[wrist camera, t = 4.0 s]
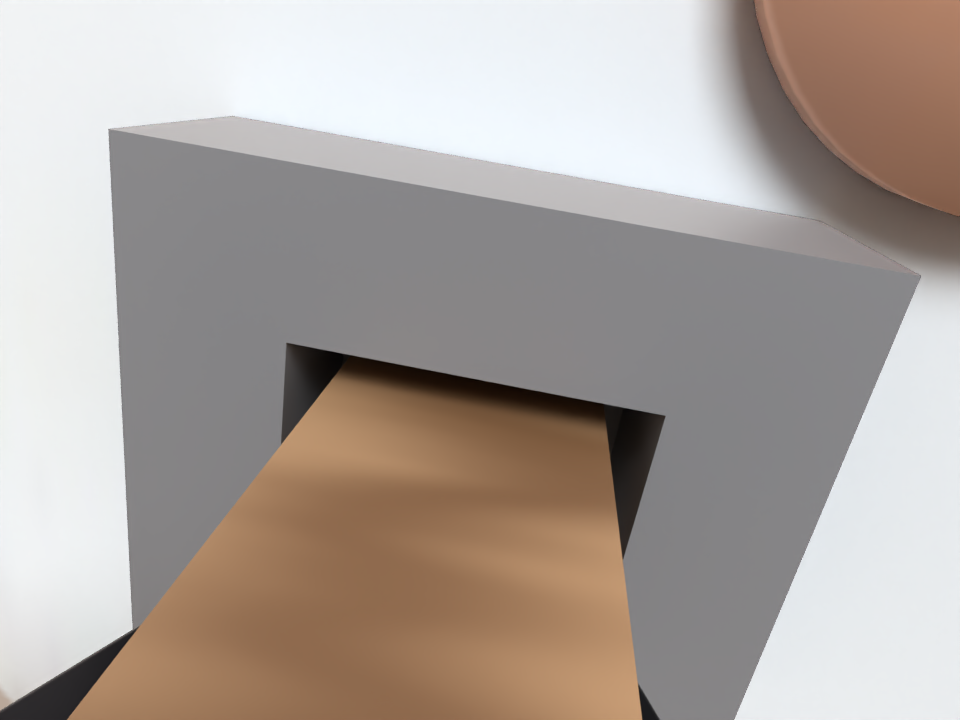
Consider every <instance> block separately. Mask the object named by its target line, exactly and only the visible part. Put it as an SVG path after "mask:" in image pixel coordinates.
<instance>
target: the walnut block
mask: <svg viewBox="0 0 960 720" xmlns="http://www.w3.org/2000/svg"><path fill="white" fill-rule="evenodd" d="M67 720H642V714H641V706H640V698H639V690H638V681H637V673H636V665H635V657H634V649H633V641H632V632H631V624H630V616H629V608H628V600H627V592H626V584H625V575H624V567H623V559H622V551H621V543H620V535H619V526H618V518H617V510H616V502H615V494H614V486H613V478H612V469H611V461H610V453H609V445H608V437H607V429H606V420H605V412H604V404H602V403H597V402H592V401H587V400H581V399H576V398H571V397H566V396H561V395H555V394H550V393H545V392H540V391H535V390H529V389H524V388H519V387H514V386H509V385H503V384H498V383H493V382H488V381H483V380H478V379H472V378H467V377H462V376H457V375H452V374H446V373H441V372H436V371H431V370H426V369H420V368H415V367H410V366H405V365H400V364H395V363H389V362H384V361H379V360H374V359H369V358H363V357H358V356H353V355H351V356H350V357H349V358H348V360H347V361H346V362H345V363H344V365H343V366H342V367H341V369H340V370H339V371H338V372H337V374H336V375H335V376H334V378H333V379H332V380H331V381H330V383H329V384H328V385H327V387H326V388H325V389H324V390H323V392H322V393H321V394H320V396H319V397H318V398H317V399H316V401H315V402H314V403H313V405H312V406H311V407H310V408H309V410H308V411H307V412H306V414H305V415H304V416H303V417H302V419H301V420H300V421H299V423H298V424H297V425H296V426H295V428H294V429H293V430H292V432H291V433H290V434H289V435H288V437H287V438H286V439H285V440H284V442H283V443H282V444H281V446H280V447H279V448H278V449H277V451H276V452H275V453H274V455H273V456H272V457H271V458H270V460H269V461H268V462H267V464H266V465H265V466H264V467H263V469H262V470H261V471H260V473H259V474H258V475H257V476H256V478H255V479H254V480H253V482H252V483H251V484H250V485H249V487H248V488H247V489H246V491H245V492H244V493H243V494H242V496H241V497H240V498H239V500H238V501H237V502H236V503H235V505H234V506H233V507H232V509H231V510H230V511H229V512H228V514H227V515H226V516H225V518H224V519H223V520H222V521H221V523H220V524H219V525H218V526H217V528H216V529H215V530H214V532H213V533H212V534H211V535H210V537H209V538H208V539H207V541H206V542H205V543H204V544H203V546H202V547H201V548H200V550H199V551H198V552H197V553H196V555H195V556H194V557H193V559H192V560H191V561H190V562H189V564H188V565H187V566H186V568H185V569H184V570H183V571H182V573H181V574H180V575H179V577H178V578H177V579H176V580H175V582H174V583H173V584H172V586H171V587H170V588H169V589H168V591H167V592H166V593H165V595H164V596H163V597H162V598H161V600H160V601H159V602H158V604H157V605H156V606H155V607H154V609H153V610H152V611H151V613H150V614H149V615H148V616H147V618H146V619H145V620H144V621H143V623H142V624H141V625H140V627H139V628H138V629H137V630H136V632H135V633H134V634H133V636H132V637H131V638H130V639H129V641H128V642H127V643H126V645H125V646H124V647H123V648H122V650H121V651H120V652H119V654H118V655H117V656H116V657H115V659H114V660H113V661H112V663H111V664H110V665H109V666H108V668H107V669H106V670H105V672H104V673H103V674H102V675H101V677H100V678H99V679H98V681H97V682H96V683H95V684H94V686H93V687H92V688H91V690H90V691H89V692H88V693H87V695H86V696H85V697H84V699H83V700H82V701H81V702H80V704H79V705H78V706H77V708H76V709H75V710H74V711H73V713H72V714H71V715H70V716H69V718H68V719H67Z"/></svg>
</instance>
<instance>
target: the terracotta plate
mask: <svg viewBox="0 0 960 720" xmlns="http://www.w3.org/2000/svg"><path fill="white" fill-rule="evenodd" d="M754 4H755V10H756V17H757V21H758V24H759V27H760V31H761V34H762V38H763V41H764V44H765V48H766V51H767V55H768V57H769V60H770V62H771V64H772V66H773V68H774V71H775V73H776V75H777V77H778V79H779V82H780V84H781V86H782V88H783V90H784V92H785V94H786V95H787V97H788V98H789V100H790V102H791V103H792V105H793V106H794V108H795V109H796V111H797V112H798V114H799V115H800V117H801V118H802V120H803V122H804V123H805V124H806V125H807V126H808V127H809V129H810V130H811V131H812V132H813V133H814V134H815V135H816V136H817V137H818V139H819V140H820V141H821V142H822V143H823V144H824V145H825V146H826V148H827V149H828V150H830V151H831V152H832V153H833V154H834V155H836V156H837V157H838V158H839V159H840V160H842V161H843V162H844V163H845V164H847V165H848V166H849V167H850V168H851V169H853V170H854V171H855V172H857V173H858V174H860V175H862V176H863V177H865V178H867V179H868V180H870V181H872V182H874V183H875V184H877V185H879V186H880V187H882V188H884V189H885V190H888V191H890V192H892V193H895V194H897V195H900V196H902V197H905V198H907V199H910V200H912V201H915V202H917V203H920V204H923V205H925V206H928V207H931V208H934V209H937V210H940V211H943V212H946V213H949V214H952V215H956V216H960V0H754Z"/></svg>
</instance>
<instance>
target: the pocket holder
mask: <svg viewBox="0 0 960 720" xmlns="http://www.w3.org/2000/svg"><path fill="white" fill-rule="evenodd" d="M109 150H110V170H111V191H112V212H113V232H114V253H115V273H116V294H117V314H118V335H119V356H120V376H121V397H122V417H123V438H124V458H125V479H126V500H127V520H128V541H129V561H130V582H131V603H132V623H133V629H134V628H136V627H138V626H139V625H141V624H142V623H143V621H144V620H145V619H146V618H147V616H148V615H149V614H150V613H151V611H152V610H153V609H154V607H155V606H156V605H157V604H158V602H159V601H160V600H161V598H162V597H163V596H164V595H165V593H166V592H167V591H168V589H169V588H170V587H171V586H172V584H173V583H174V582H175V580H176V579H177V578H178V577H179V575H180V574H181V573H182V571H183V570H184V569H185V568H186V566H187V565H188V564H189V562H190V561H191V560H192V559H193V557H194V556H195V555H196V553H197V552H198V551H199V550H200V548H201V547H202V546H203V544H204V543H205V542H206V541H207V539H208V538H209V537H210V535H211V534H212V533H213V532H214V530H215V529H216V528H217V526H218V525H219V524H220V523H221V521H222V520H223V519H224V518H225V516H226V515H227V514H228V512H229V511H230V510H231V509H232V507H233V506H234V505H235V503H236V502H237V501H238V500H239V498H240V497H241V496H242V494H243V493H244V492H245V491H246V489H247V488H248V487H249V485H250V484H251V483H252V482H253V480H254V479H255V478H256V476H257V475H258V474H259V473H260V471H261V470H262V469H263V467H264V466H265V465H266V464H267V462H268V461H269V460H270V458H271V457H272V456H273V455H274V453H275V452H276V451H277V449H278V448H279V447H280V446H281V444H282V443H283V442H284V440H285V439H286V438H287V437H288V435H289V434H290V433H291V432H292V430H293V429H294V428H295V426H296V425H297V424H298V423H299V421H300V420H301V419H302V417H303V416H304V415H305V414H306V412H307V411H308V410H309V408H310V407H311V406H312V405H313V403H314V402H315V401H316V399H317V398H318V397H319V396H320V394H321V393H322V392H323V390H324V389H325V388H326V387H327V385H328V384H329V383H330V381H331V380H332V379H333V378H334V376H335V375H336V374H337V372H338V371H339V370H340V369H341V367H342V366H343V365H344V363H345V362H346V361H347V360H348V358H349V357H350V356H351V355H353V356H358V357H363V358H369V359H374V360H379V361H384V362H389V363H395V364H400V365H405V366H410V367H415V368H420V369H426V370H431V371H436V372H441V373H446V374H452V375H457V376H462V377H467V378H472V379H478V380H483V381H488V382H493V383H498V384H503V385H509V386H514V387H519V388H524V389H529V390H535V391H540V392H545V393H550V394H555V395H561V396H566V397H571V398H576V399H581V400H587V401H592V402H597V403H602V404H604V412H605V420H606V429H607V437H608V445H609V453H610V461H611V469H612V478H613V486H614V494H615V502H616V510H617V518H618V526H619V535H620V543H621V551H622V559H623V567H624V575H625V584H626V592H627V600H628V608H629V616H630V624H631V632H632V641H633V649H634V657H635V665H636V673H637V681H638V684H639V685H640V687H641V689H642V690H643V692H644V694H645V695H646V697H647V699H648V700H649V702H650V704H651V705H652V707H653V709H654V710H655V712H656V714H657V715H658V717H659V719H660V720H734V719H735V716H736V714H737V711H738V709H739V707H740V704H741V702H742V700H743V697H744V695H745V693H746V690H747V688H748V685H749V683H750V681H751V678H752V676H753V674H754V671H755V669H756V666H757V664H758V662H759V659H760V657H761V655H762V652H763V650H764V647H765V645H766V643H767V640H768V638H769V636H770V633H771V631H772V628H773V626H774V624H775V621H776V619H777V617H778V614H779V612H780V610H781V607H782V605H783V602H784V600H785V598H786V595H787V593H788V591H789V588H790V586H791V583H792V581H793V579H794V576H795V574H796V572H797V569H798V567H799V564H800V562H801V560H802V557H803V555H804V553H805V550H806V548H807V545H808V543H809V541H810V538H811V536H812V534H813V531H814V529H815V527H816V524H817V522H818V519H819V517H820V515H821V512H822V510H823V508H824V505H825V503H826V500H827V498H828V496H829V493H830V491H831V489H832V486H833V484H834V481H835V479H836V477H837V474H838V472H839V470H840V467H841V465H842V462H843V460H844V458H845V455H846V453H847V451H848V448H849V446H850V444H851V441H852V439H853V436H854V434H855V432H856V429H857V427H858V425H859V422H860V420H861V417H862V415H863V413H864V410H865V408H866V406H867V403H868V401H869V398H870V396H871V394H872V391H873V389H874V387H875V384H876V382H877V379H878V377H879V375H880V372H881V370H882V368H883V365H884V363H885V361H886V358H887V356H888V353H889V351H890V349H891V346H892V344H893V342H894V339H895V337H896V334H897V332H898V330H899V327H900V325H901V323H902V320H903V318H904V315H905V313H906V311H907V308H908V306H909V304H910V301H911V299H912V296H913V294H914V292H915V289H916V287H917V285H918V282H919V280H920V278H921V276H920V275H919V274H917V273H915V272H913V271H911V270H909V269H907V268H906V267H904V266H902V265H900V264H898V263H896V262H895V261H893V260H891V259H889V258H887V257H885V256H884V255H882V254H880V253H878V252H876V251H874V250H873V249H871V248H869V247H867V246H865V245H863V244H862V243H860V242H858V241H856V240H854V239H852V238H850V237H849V236H847V235H845V234H843V233H841V232H839V231H838V230H836V229H834V228H832V227H830V226H828V225H827V224H825V223H823V222H821V221H818V220H812V219H807V218H801V217H796V216H790V215H784V214H779V213H773V212H768V211H762V210H756V209H751V208H745V207H740V206H734V205H728V204H723V203H717V202H712V201H706V200H700V199H695V198H689V197H684V196H678V195H672V194H667V193H661V192H656V191H650V190H644V189H639V188H633V187H628V186H622V185H616V184H611V183H605V182H600V181H594V180H588V179H583V178H577V177H572V176H566V175H560V174H555V173H549V172H544V171H538V170H532V169H527V168H521V167H516V166H510V165H504V164H499V163H493V162H488V161H482V160H476V159H471V158H465V157H460V156H454V155H448V154H443V153H437V152H432V151H426V150H420V149H415V148H409V147H404V146H398V145H392V144H387V143H381V142H376V141H370V140H364V139H359V138H353V137H348V136H342V135H336V134H331V133H325V132H320V131H314V130H308V129H303V128H297V127H292V126H286V125H280V124H275V123H269V122H264V121H258V120H252V119H247V118H241V117H236V116H228V117H219V118H209V119H199V120H190V121H180V122H171V123H161V124H151V125H142V126H132V127H122V128H113V129H109Z"/></svg>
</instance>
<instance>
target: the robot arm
mask: <svg viewBox="0 0 960 720" xmlns="http://www.w3.org/2000/svg"><path fill="white" fill-rule="evenodd" d="M139 627H140V625H139V626H138V627H136V628H134V629H133V630H131V631H130V632H128V633H126V634H125V635H123V636H121V637H120V638H118V639H117V640H115V641H113V642H112V643H110V644H108V645H107V646H105V647H103V648H102V649H100V650H99V651H97V652H95V653H94V654H92V655H90V656H89V657H87V658H85V659H84V660H82V661H81V662H79V663H77V664H76V665H74V666H72V667H71V668H69V669H67V670H66V671H64V672H63V673H61V674H59V675H58V676H56V677H54V678H53V679H51V680H49V681H48V682H46V683H45V684H43V685H41V686H40V687H38V688H36V689H35V690H33V691H32V692H30V693H28V694H27V695H25V696H23V697H22V698H20V699H18V700H17V701H15V702H14V703H12V704H10V705H9V706H7V707H5V708H4V709H2V710H0V720H67V719H68V718H69V716H70V715H71V714H72V713H73V711H74V710H75V709H76V708H77V706H78V705H79V704H80V702H81V701H82V700H83V699H84V697H85V696H86V695H87V693H88V692H89V691H90V690H91V688H92V687H93V686H94V684H95V683H96V682H97V681H98V679H99V678H100V677H101V675H102V674H103V673H104V672H105V670H106V669H107V668H108V666H109V665H110V664H111V663H112V661H113V660H114V659H115V657H116V656H117V655H118V654H119V652H120V651H121V650H122V648H123V647H124V646H125V645H126V643H127V642H128V641H129V639H130V638H131V637H132V636H133V634H134V633H135V632H136V630H137V629H138V628H139ZM638 690H639V698H640V706H641V714H642V720H660V719H659V717H658V715H657V714H656V712H655V710H654V709H653V707H652V705H651V704H650V702H649V700H648V699H647V697H646V695H645V694H644V692H643V690H642V689H641V687H640V685H639V684H638Z"/></svg>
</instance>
